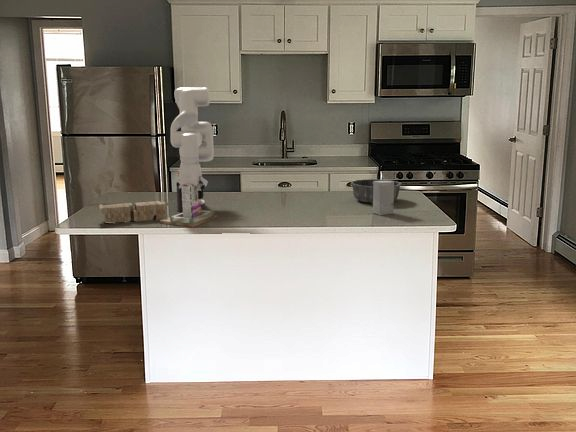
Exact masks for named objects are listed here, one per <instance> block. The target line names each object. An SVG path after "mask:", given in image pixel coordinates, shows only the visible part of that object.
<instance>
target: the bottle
mask: <svg viewBox="0 0 576 432" xmlns="http://www.w3.org/2000/svg"><path fill="white" fill-rule="evenodd" d="M179 170H180V169H178V170H177V177H179ZM176 201H177V203H176V206H177V207H176V208H177V212H181V213H183V208H182V197H180V189H179V187H178V186H177V184H176Z"/></svg>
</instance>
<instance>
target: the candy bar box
mask: <svg viewBox="0 0 576 432" xmlns="http://www.w3.org/2000/svg"><path fill="white" fill-rule="evenodd" d="M181 191H182V208H183V212H182V213H183V217H184V218H194V217H196V216H199V215H201V210H202V204H201V200H202V199H198V191H199V189H198V188H197V187H193V185H190V184H184V185H181Z"/></svg>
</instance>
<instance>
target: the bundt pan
mask: <svg viewBox="0 0 576 432" xmlns="http://www.w3.org/2000/svg"><path fill="white" fill-rule="evenodd" d="M373 181H392V182H394V201H396V200H397V199H398V197H399V193H400V189H401V188H400V187H401V186H402V183H401V182H399V181H397V180H389V179H383V178H382V179H381V178H380V179H376V178H369V179H356V180H351V183H350V184H351V186H352V187H351V189H352V194H353V197H354V198H355V200H357V201H359V202H360V203H370V204H373Z"/></svg>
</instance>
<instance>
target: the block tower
mask: <svg viewBox="0 0 576 432" xmlns="http://www.w3.org/2000/svg"><path fill="white" fill-rule="evenodd" d="M98 206H99V213H100V214H102V220H103V219H104V222H124V221H131V220H134V221H136V222H144V221H154V219H155V220H156V221H157V220H159V221H160V220H163V219H166V218H167V217H166V212H167V211H166V206H167V205H166V202H164V201H160V200H156V201H143V202H134V205H133V203H131V202H128V203H127V202H126V203H115V204H104V205H103V204H99V205H98ZM154 217H155V218H154ZM134 221H133V222H134ZM104 222H103V223H104ZM124 223H125V222H124Z"/></svg>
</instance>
